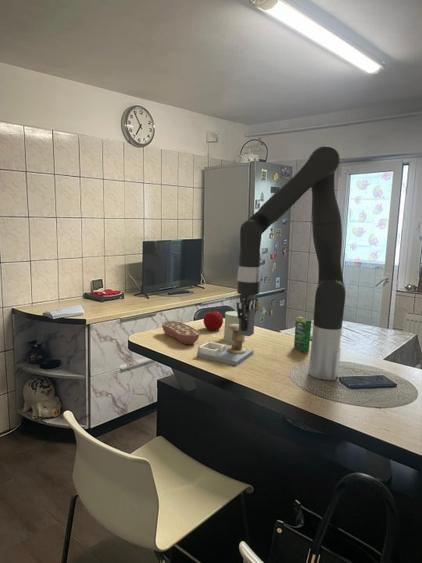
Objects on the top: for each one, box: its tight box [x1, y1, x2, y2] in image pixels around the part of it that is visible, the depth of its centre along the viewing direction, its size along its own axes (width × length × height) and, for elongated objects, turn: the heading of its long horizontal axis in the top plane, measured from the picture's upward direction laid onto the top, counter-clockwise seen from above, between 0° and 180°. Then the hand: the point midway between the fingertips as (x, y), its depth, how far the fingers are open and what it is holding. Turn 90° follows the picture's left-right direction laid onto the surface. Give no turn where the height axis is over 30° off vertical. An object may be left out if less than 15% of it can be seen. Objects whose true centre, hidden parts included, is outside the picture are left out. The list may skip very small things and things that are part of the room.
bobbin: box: [227, 324, 247, 354], centre depth 156 cm, size 7×7×10 cm
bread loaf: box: [161, 320, 200, 346], centre depth 173 cm, size 23×10×5 cm, turn 32°
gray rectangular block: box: [238, 308, 256, 337], centre depth 141 cm, size 4×4×11 cm
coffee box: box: [293, 316, 312, 354], centre depth 167 cm, size 8×3×13 cm, turn 17°
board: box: [196, 341, 254, 367], centre depth 155 cm, size 16×16×4 cm
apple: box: [203, 309, 224, 331], centre depth 191 cm, size 9×9×10 cm
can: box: [222, 310, 246, 344], centre depth 176 cm, size 9×9×12 cm
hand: (246, 329), depth 142 cm, fingers closed on gray rectangular block, 4 cm apart
